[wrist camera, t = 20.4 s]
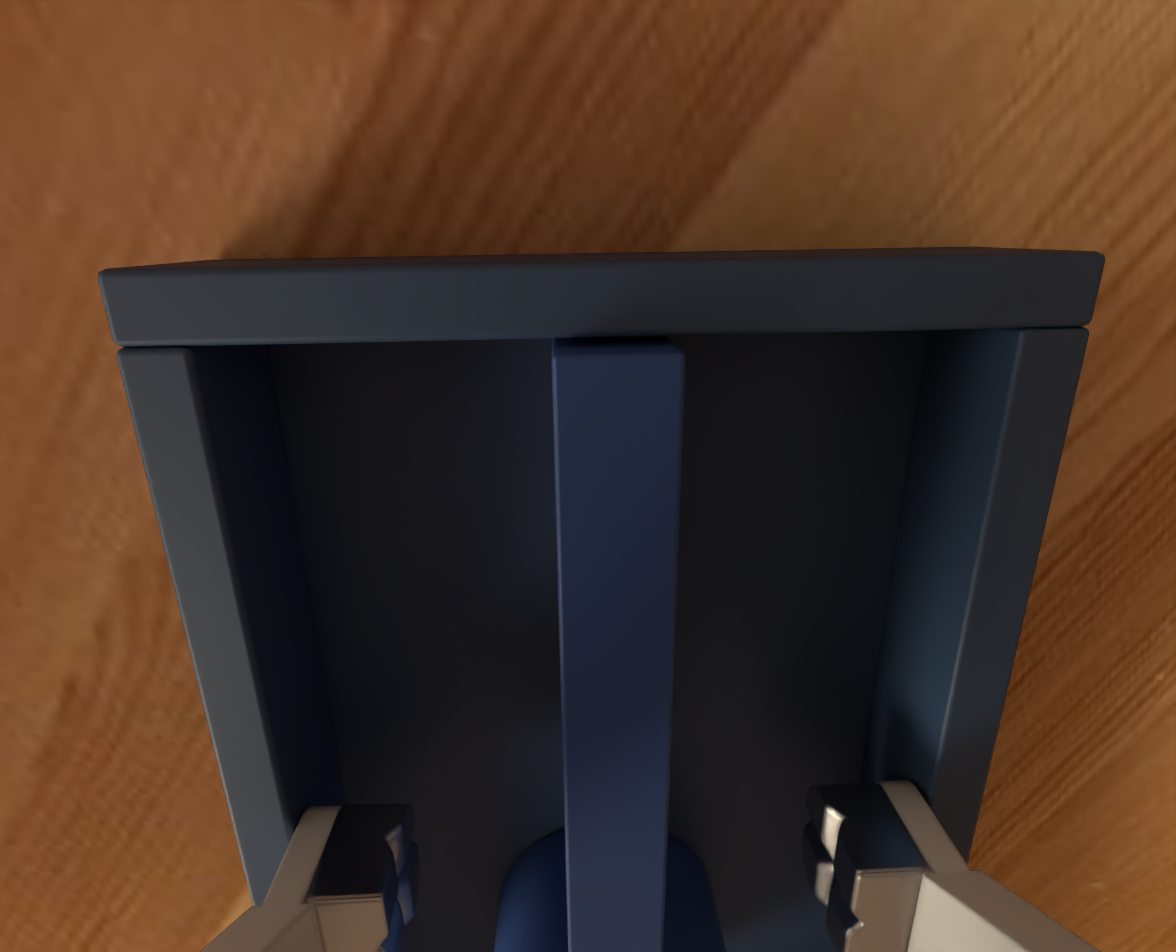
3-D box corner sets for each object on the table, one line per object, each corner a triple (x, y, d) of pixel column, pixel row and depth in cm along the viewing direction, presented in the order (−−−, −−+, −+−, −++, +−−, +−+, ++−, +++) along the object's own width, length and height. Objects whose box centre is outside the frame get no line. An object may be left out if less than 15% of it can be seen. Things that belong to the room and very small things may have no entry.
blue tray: (208, 259, 9) (90, 269, 7) (975, 246, 10) (1111, 251, 7) (363, 1059, 15) (327, 1215, 13) (844, 1032, 15) (896, 1178, 13)
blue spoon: (455, 326, 9) (422, 356, 7) (750, 321, 9) (811, 350, 7) (504, 979, 13) (493, 1130, 11) (705, 969, 14) (734, 1115, 11)
